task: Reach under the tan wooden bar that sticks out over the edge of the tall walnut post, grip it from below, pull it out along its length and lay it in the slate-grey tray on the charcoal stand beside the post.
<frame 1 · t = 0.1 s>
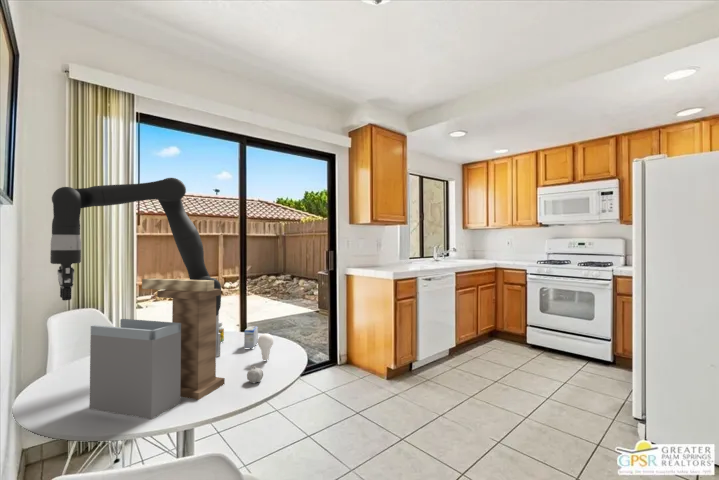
hand: (65, 298, 110), 29 cm above the table, tool pointing down, fingers open, 8 cm apart
garlic: (254, 382, 116), on the table
medicine box: (251, 347, 156), on the table
supplement bottle: (217, 342, 163), on the table
tan wooden bar: (177, 289, 112), point 32 cm above the table, touching post
post: (188, 388, 110), on the table
tray stand: (135, 405, 98), on the table
lightbulb: (265, 361, 136), on the table
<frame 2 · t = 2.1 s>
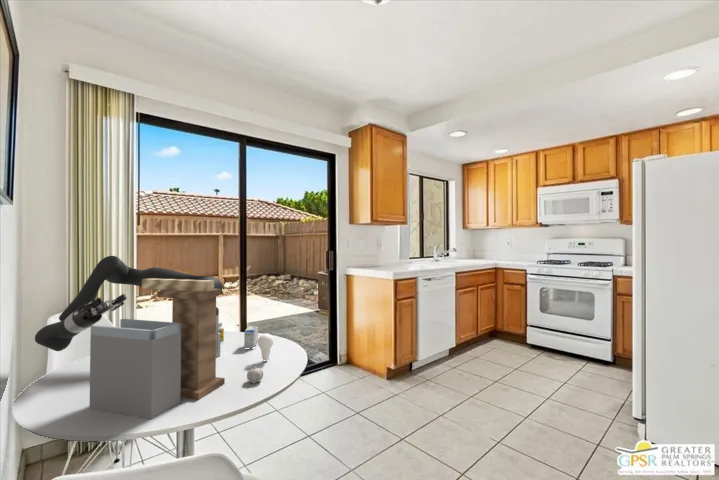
hand: (113, 298, 119), 28 cm above the table, tool pointing upward, fingers open, 8 cm apart
nothing on the table moved.
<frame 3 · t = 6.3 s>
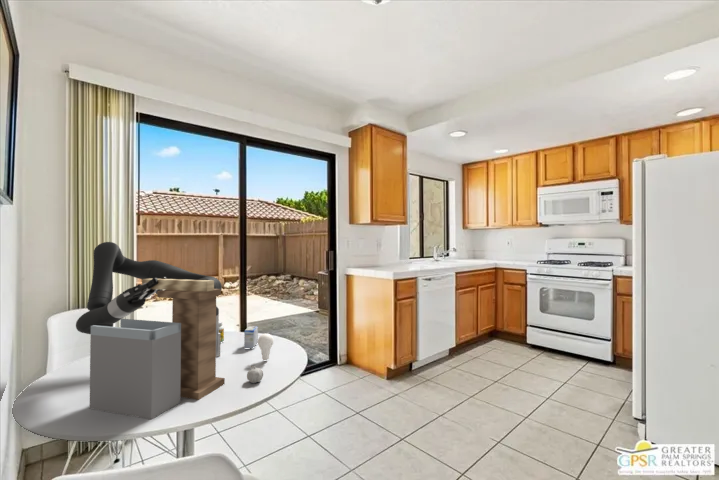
hand: (161, 279, 114), 35 cm above the table, tool pointing upward, fingers closed on tan wooden bar, 3 cm apart
tan wooden bar: (177, 289, 112), point 32 cm above the table, touching gripper, post
everything else where it was.
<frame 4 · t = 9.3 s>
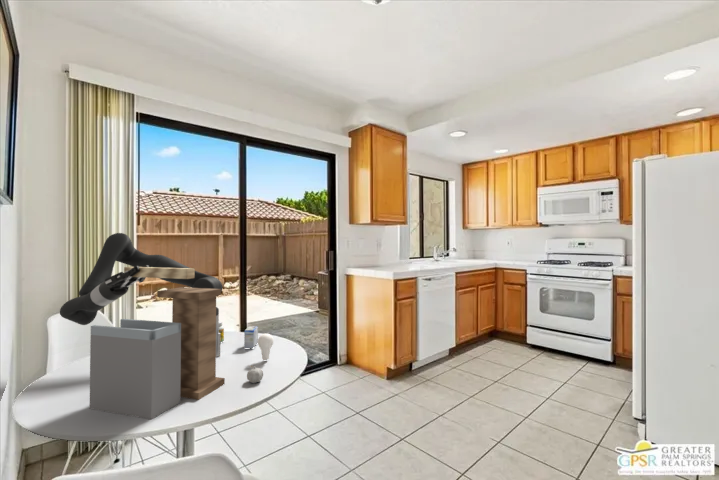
hand: (143, 267, 116), 39 cm above the table, tool pointing upward, fingers closed on tan wooden bar, 3 cm apart
tan wooden bar: (158, 277, 114), point 36 cm above the table, touching gripper
everything else where it was.
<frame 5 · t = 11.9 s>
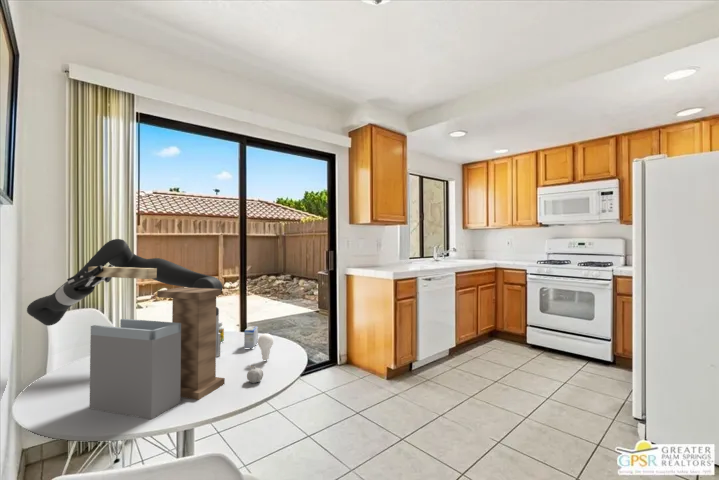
hand: (107, 267, 116), 39 cm above the table, tool pointing upward, fingers closed on tan wooden bar, 3 cm apart
tan wooden bar: (121, 277, 114), point 36 cm above the table, touching gripper
everything else where it was.
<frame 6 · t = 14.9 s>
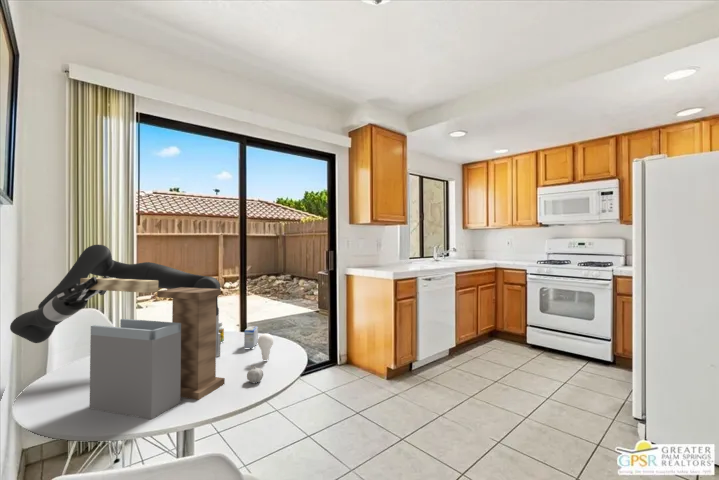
hand: (102, 279, 102), 36 cm above the table, tool pointing upward, fingers closed on tan wooden bar, 3 cm apart
tan wooden bar: (118, 290, 101), point 33 cm above the table, touching gripper
everything else where it was.
when the fingers open (25 cm above the table, at t = 17.5 s): tan wooden bar drops 1 cm, resting on tray stand.
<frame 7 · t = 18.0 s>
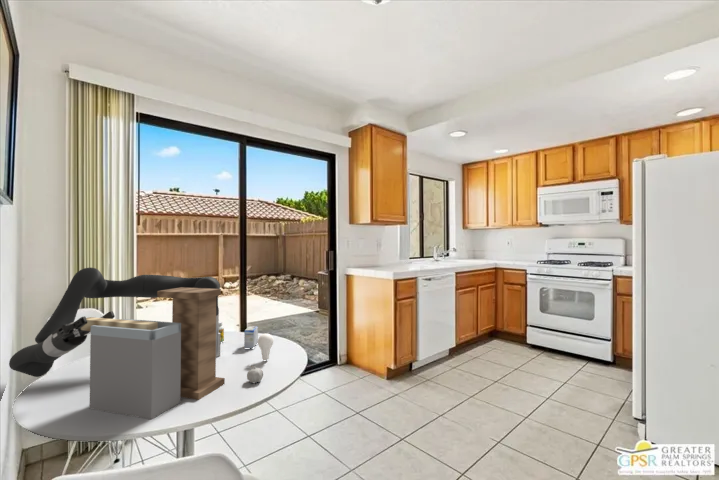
hand: (99, 316, 102), 25 cm above the table, tool pointing upward, fingers open, 8 cm apart
tan wooden bar: (117, 331, 100), point 21 cm above the table, touching tray stand
everything else where it was.
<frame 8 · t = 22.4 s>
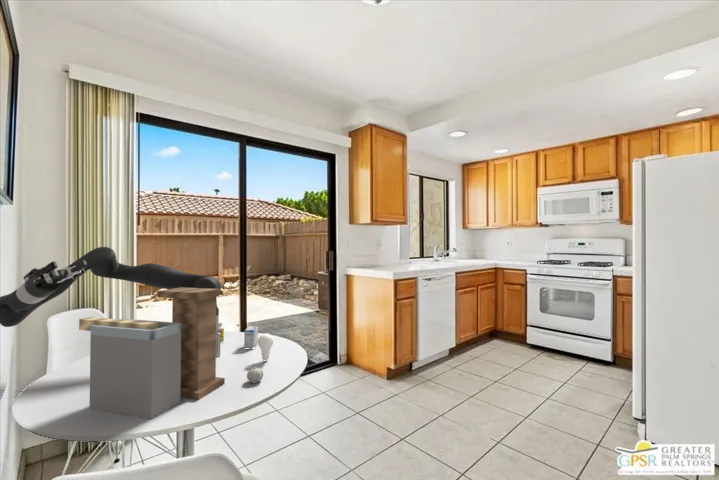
hand: (70, 263, 106), 41 cm above the table, tool pointing upward, fingers open, 8 cm apart
nothing on the table moved.
at the end: tan wooden bar inside the target area on the tray stand (6.7 cm from its centre), point 21.0 cm above the tray stand's base; tan wooden bar tilted 0°; the gripper is holding nothing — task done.
